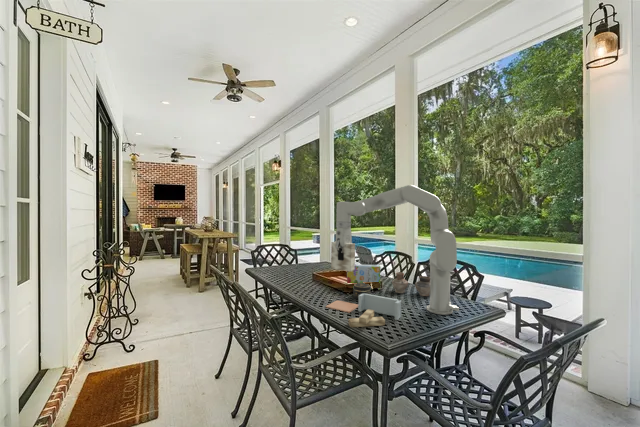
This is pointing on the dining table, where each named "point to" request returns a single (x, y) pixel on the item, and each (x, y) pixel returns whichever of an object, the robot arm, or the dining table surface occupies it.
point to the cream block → (349, 257)
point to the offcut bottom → (373, 322)
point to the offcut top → (366, 316)
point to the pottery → (421, 285)
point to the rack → (380, 305)
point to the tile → (342, 306)
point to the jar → (361, 289)
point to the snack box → (364, 274)
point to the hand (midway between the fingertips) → (342, 259)
